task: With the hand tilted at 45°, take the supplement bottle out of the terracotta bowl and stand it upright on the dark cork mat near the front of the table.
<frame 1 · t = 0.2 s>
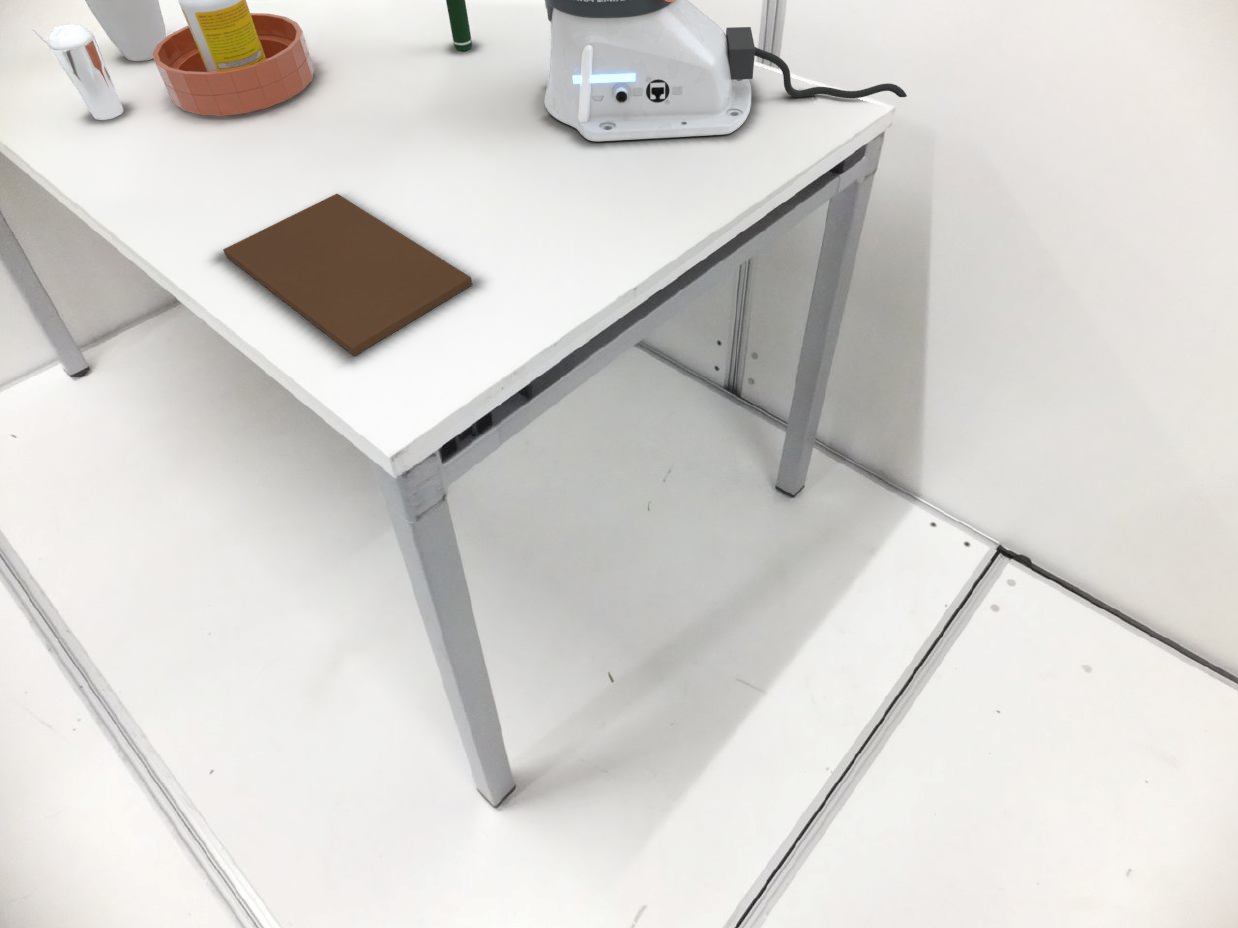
supplement bottle: (244, 84, 96), resting on bowl
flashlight: (463, 49, 101), on the table
bowl: (245, 86, 96), on the table
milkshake: (106, 117, 93), on the table
mat: (346, 270, 72), on the table
cup: (147, 54, 103), on the table
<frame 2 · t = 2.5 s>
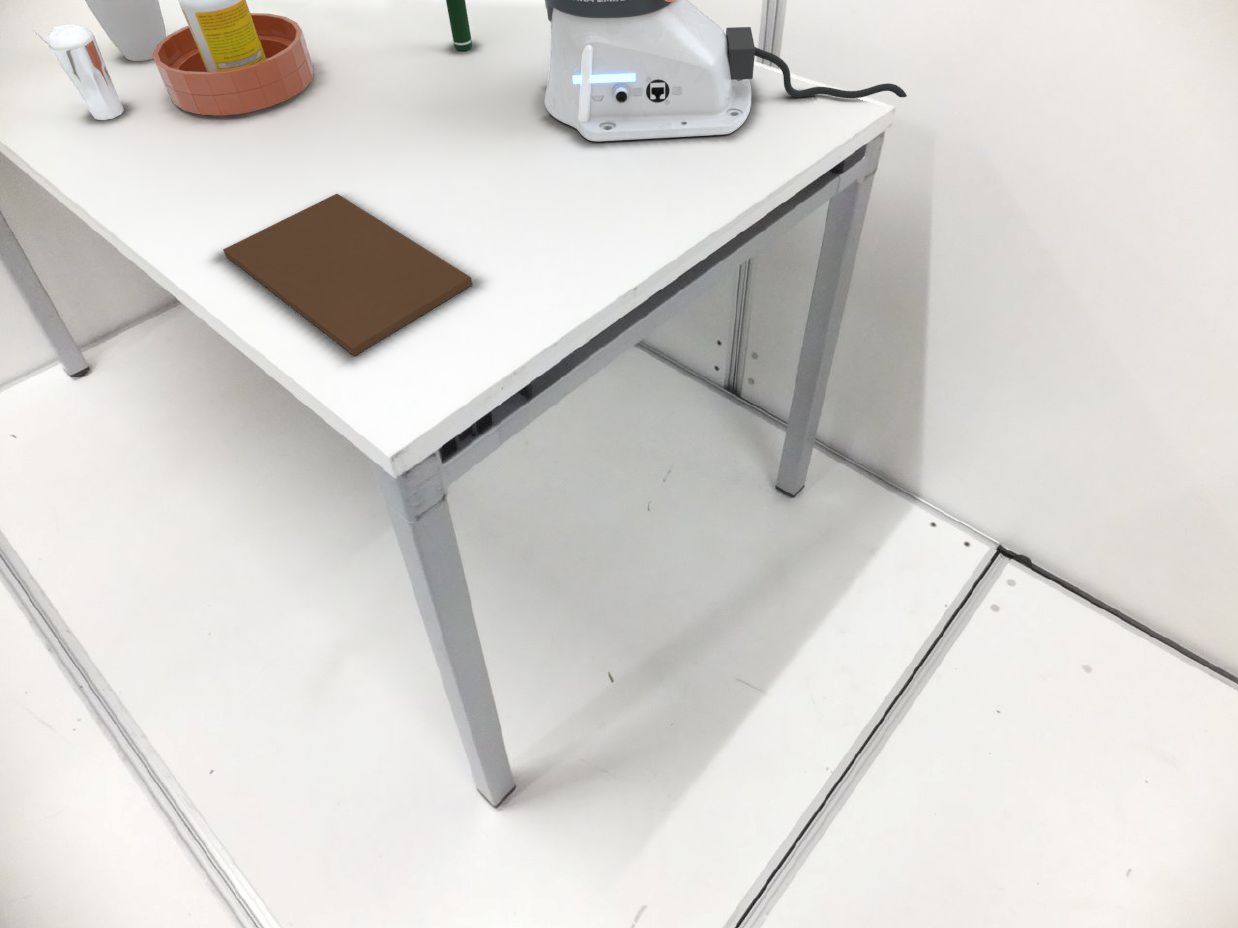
nothing on the table moved.
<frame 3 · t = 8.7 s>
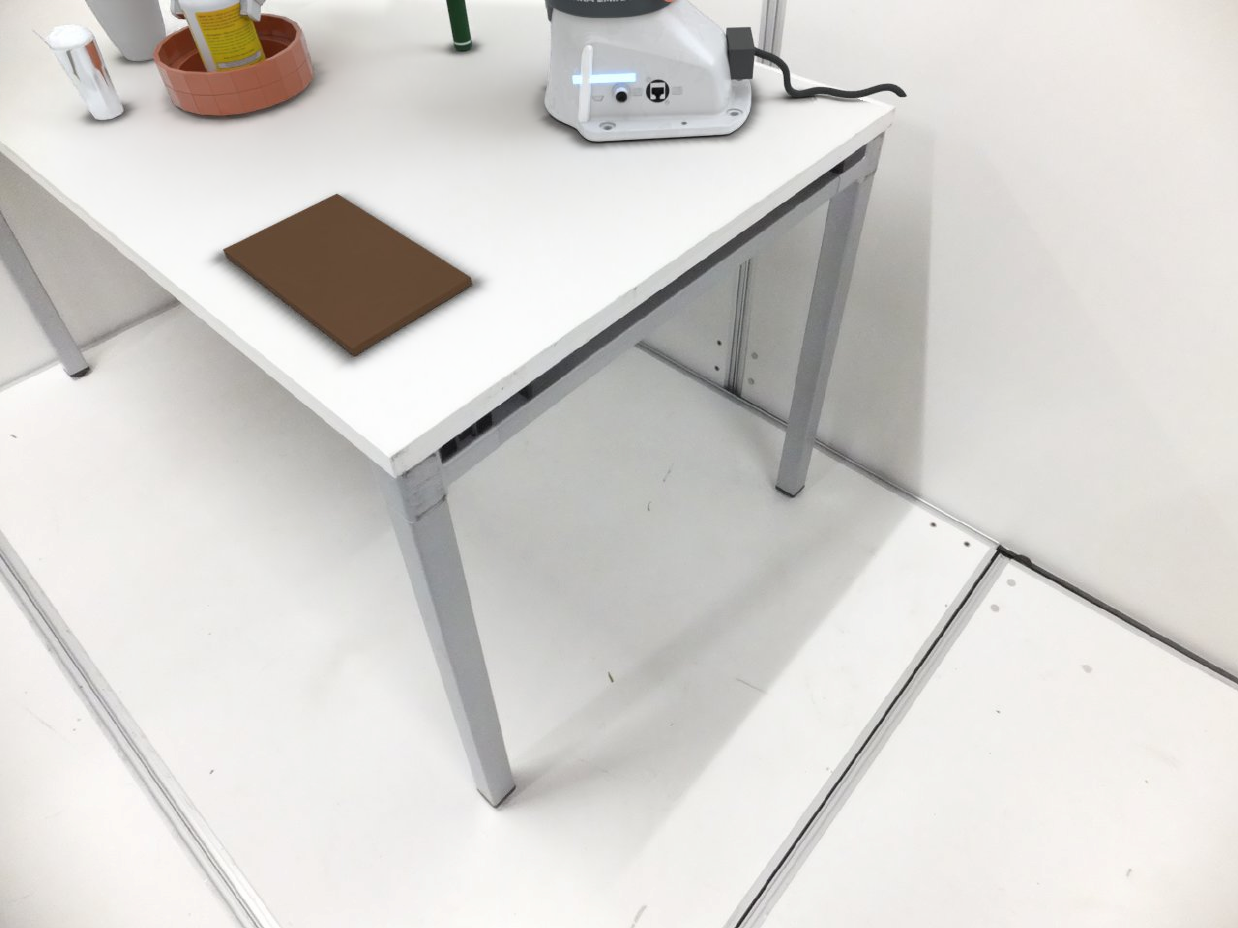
hand: (215, 18, 90), 8 cm above the table, tool tilted 45°, fingers closed on supplement bottle, 6 cm apart
supplement bottle: (244, 84, 96), resting on bowl, touching gripper
everything else where it was.
when the fingers open (8 cm above the table, at t = 21.0 s): supplement bottle stays where it is, resting on mat.
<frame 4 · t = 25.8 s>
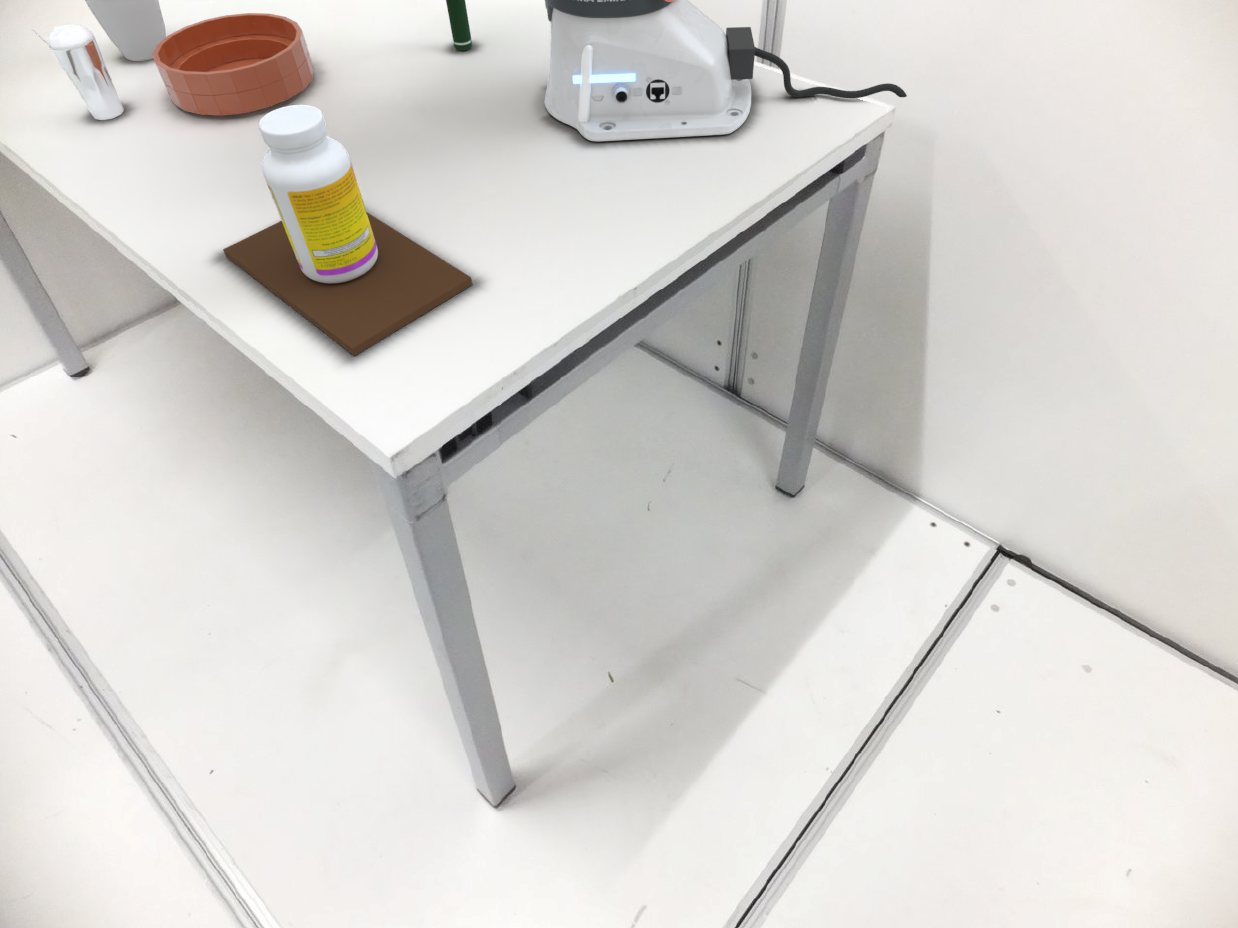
supplement bottle: (341, 265, 71), point 1 cm above the table, touching mat
everything else where it was.
at the end: supplement bottle inside the target area on the mat (0.2 cm from its centre), point 0.6 cm above the mat's base; supplement bottle tilted 0°; supplement bottle touching mat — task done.
